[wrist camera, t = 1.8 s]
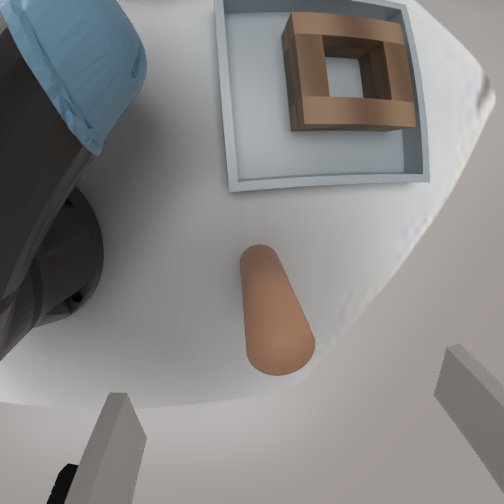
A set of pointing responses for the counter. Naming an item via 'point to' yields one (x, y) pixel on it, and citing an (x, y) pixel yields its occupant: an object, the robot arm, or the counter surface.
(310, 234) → the counter surface
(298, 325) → the peg
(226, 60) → the tray
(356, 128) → the block
